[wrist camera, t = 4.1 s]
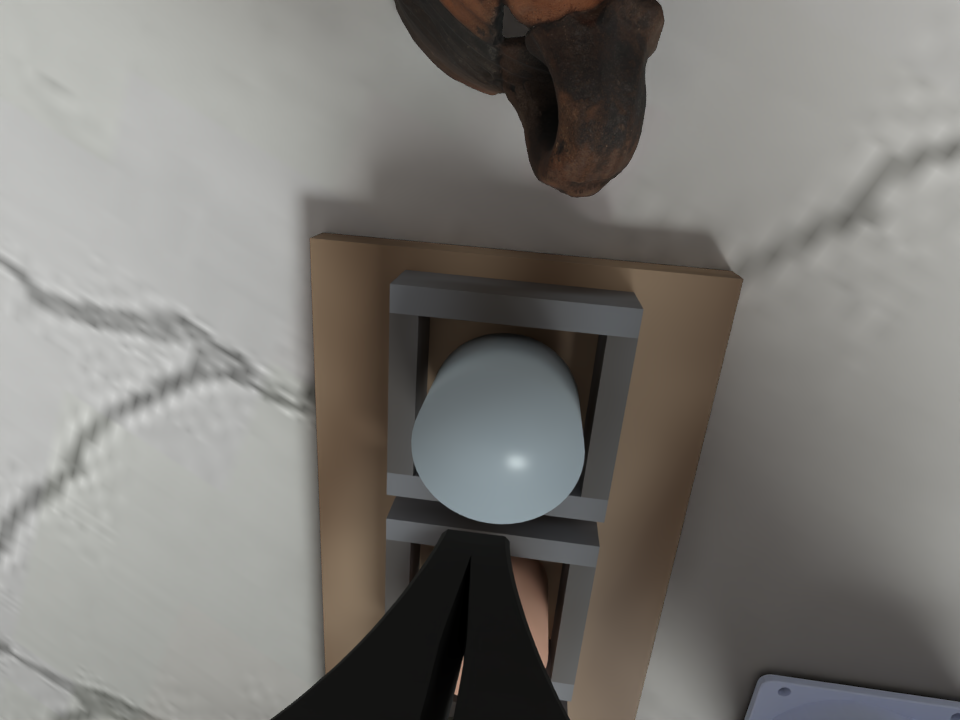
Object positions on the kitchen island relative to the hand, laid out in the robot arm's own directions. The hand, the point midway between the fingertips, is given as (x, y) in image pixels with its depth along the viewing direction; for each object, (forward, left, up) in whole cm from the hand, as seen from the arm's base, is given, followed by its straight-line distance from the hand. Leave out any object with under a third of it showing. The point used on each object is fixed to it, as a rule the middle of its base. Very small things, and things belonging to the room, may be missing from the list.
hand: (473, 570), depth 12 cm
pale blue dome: (0, 0, -7) cm, 7 cm away
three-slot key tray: (0, +8, -10) cm, 13 cm away
